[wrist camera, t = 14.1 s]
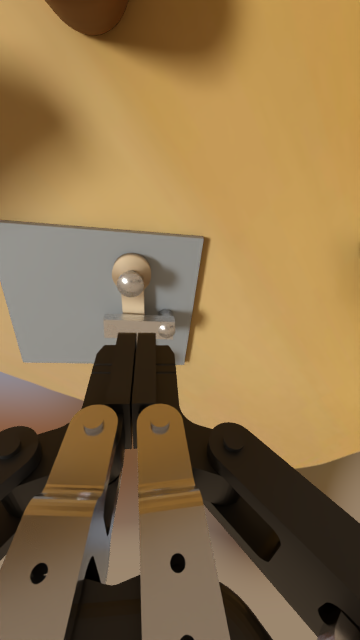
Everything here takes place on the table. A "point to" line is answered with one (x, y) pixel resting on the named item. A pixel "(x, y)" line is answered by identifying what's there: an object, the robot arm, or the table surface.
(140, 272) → the link
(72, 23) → the mug
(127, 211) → the table surface
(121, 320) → the keeper
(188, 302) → the base plate
